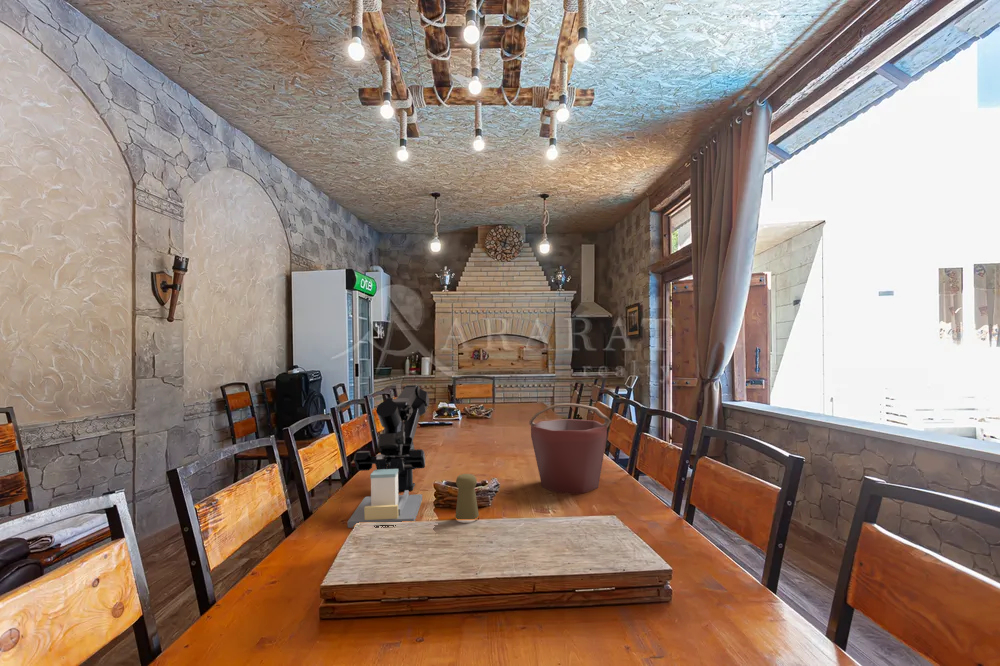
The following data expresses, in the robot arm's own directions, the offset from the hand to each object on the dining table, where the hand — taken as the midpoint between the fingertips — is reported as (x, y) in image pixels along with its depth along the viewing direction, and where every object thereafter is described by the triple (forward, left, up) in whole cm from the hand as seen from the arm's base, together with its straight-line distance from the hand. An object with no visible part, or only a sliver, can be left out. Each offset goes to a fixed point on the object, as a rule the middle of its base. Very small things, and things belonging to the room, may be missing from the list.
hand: (386, 488), depth 127 cm
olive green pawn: (+6, +21, -7) cm, 23 cm away
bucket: (-18, +52, -7) cm, 55 cm away
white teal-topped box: (+3, 0, -5) cm, 6 cm away
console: (-1, 0, -7) cm, 7 cm away
